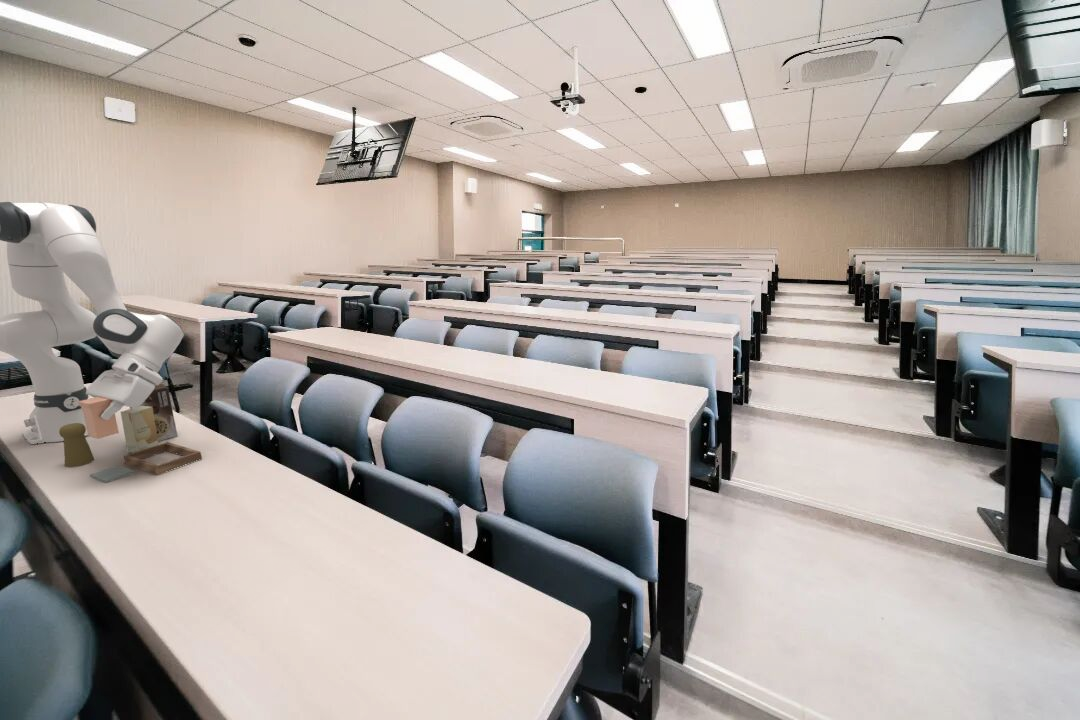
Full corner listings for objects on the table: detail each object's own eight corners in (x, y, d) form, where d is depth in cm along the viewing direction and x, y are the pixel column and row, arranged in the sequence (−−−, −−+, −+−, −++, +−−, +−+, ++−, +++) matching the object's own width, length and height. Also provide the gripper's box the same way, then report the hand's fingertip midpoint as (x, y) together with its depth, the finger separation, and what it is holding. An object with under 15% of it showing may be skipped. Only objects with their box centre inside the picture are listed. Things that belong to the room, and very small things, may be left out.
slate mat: (90, 476, 128) (89, 474, 128) (117, 467, 133) (117, 465, 133) (106, 482, 124) (105, 480, 124) (133, 473, 129) (133, 470, 129)
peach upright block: (85, 436, 125) (77, 401, 123) (110, 429, 129) (103, 395, 127) (96, 439, 123) (88, 404, 121) (121, 432, 127) (113, 398, 125)
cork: (63, 462, 136) (54, 424, 133) (93, 456, 140) (84, 419, 138) (65, 469, 132) (56, 430, 129) (95, 462, 136) (87, 424, 134)
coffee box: (171, 431, 158) (162, 383, 154) (178, 436, 154) (169, 386, 151) (135, 440, 151) (125, 389, 148) (141, 445, 147) (131, 393, 144)
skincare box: (139, 453, 141) (130, 413, 139) (127, 452, 142) (118, 412, 140) (160, 445, 148) (153, 406, 145) (148, 443, 149) (141, 404, 146)
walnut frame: (124, 463, 135) (123, 456, 135) (168, 449, 145) (167, 441, 144) (157, 475, 128) (155, 467, 128) (201, 459, 138) (200, 451, 137)
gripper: (102, 360, 133) (63, 405, 127) (143, 367, 124) (104, 417, 118) (125, 372, 138) (89, 416, 131) (166, 380, 129) (130, 428, 122)
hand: (96, 417), depth 124 cm, fingers closed on peach upright block, 5 cm apart
